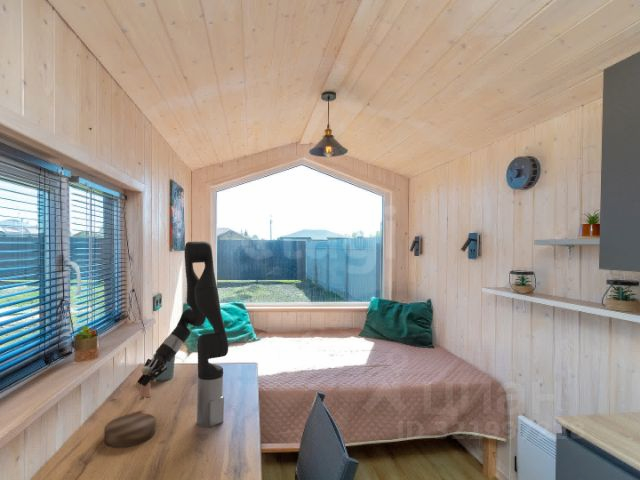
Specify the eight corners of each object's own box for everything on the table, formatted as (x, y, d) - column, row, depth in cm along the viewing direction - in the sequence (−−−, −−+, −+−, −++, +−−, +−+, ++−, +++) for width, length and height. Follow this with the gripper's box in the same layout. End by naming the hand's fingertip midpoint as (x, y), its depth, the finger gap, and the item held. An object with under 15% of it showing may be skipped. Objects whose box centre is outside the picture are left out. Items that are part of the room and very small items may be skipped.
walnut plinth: (164, 434, 131) (164, 422, 131) (116, 453, 118) (117, 441, 118) (142, 419, 141) (142, 409, 141) (96, 436, 128) (96, 425, 128)
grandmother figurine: (139, 401, 147) (139, 369, 148) (134, 399, 150) (134, 367, 150) (157, 395, 153) (157, 364, 154) (153, 393, 156) (153, 363, 156)
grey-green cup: (179, 375, 188) (179, 351, 188) (165, 382, 178) (166, 357, 178) (162, 373, 191) (162, 349, 191) (148, 380, 181) (148, 355, 181)
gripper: (155, 340, 162) (126, 375, 152) (172, 345, 154) (142, 383, 144) (167, 349, 166) (139, 385, 156) (184, 355, 158) (155, 393, 148)
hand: (141, 384), depth 150 cm, fingers closed on grandmother figurine, 2 cm apart
